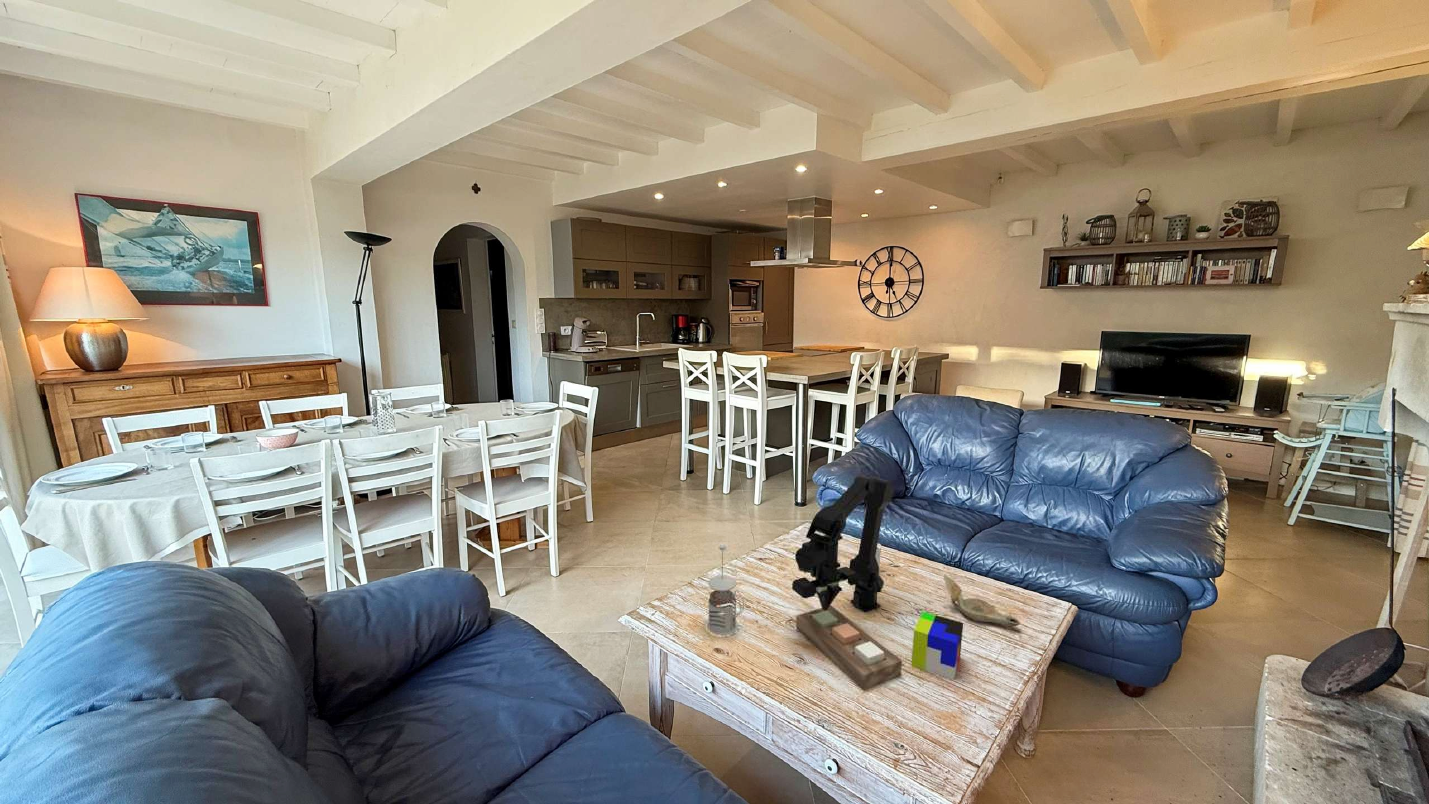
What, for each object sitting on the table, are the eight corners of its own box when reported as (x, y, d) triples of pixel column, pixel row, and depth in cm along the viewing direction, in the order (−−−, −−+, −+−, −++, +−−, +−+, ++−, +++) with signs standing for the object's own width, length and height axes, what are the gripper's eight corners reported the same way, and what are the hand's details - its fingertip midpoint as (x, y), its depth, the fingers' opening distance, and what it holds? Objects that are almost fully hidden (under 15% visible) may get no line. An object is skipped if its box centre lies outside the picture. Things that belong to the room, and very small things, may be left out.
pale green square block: (826, 620, 158) (826, 610, 157) (837, 629, 153) (837, 619, 153) (811, 624, 156) (812, 614, 155) (822, 634, 151) (822, 624, 151)
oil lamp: (946, 599, 172) (949, 569, 170) (1022, 626, 158) (1026, 593, 156) (936, 610, 166) (938, 579, 164) (1014, 639, 152) (1017, 606, 150)
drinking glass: (880, 578, 185) (882, 550, 183) (860, 576, 186) (861, 548, 184) (878, 569, 191) (880, 541, 189) (858, 567, 192) (860, 540, 191)
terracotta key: (846, 633, 150) (847, 623, 149) (859, 643, 145) (859, 632, 145) (831, 638, 148) (832, 627, 147) (844, 648, 143) (844, 638, 143)
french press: (718, 613, 164) (718, 534, 159) (751, 626, 157) (752, 544, 153) (698, 629, 156) (697, 546, 152) (732, 644, 150) (732, 558, 145)
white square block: (869, 651, 142) (870, 641, 141) (883, 663, 137) (884, 652, 137) (854, 657, 140) (854, 646, 139) (867, 669, 135) (868, 658, 135)
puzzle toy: (953, 680, 136) (956, 643, 134) (911, 665, 141) (913, 630, 139) (960, 657, 144) (963, 622, 142) (920, 645, 149) (922, 611, 147)
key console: (830, 617, 162) (830, 605, 161) (900, 675, 137) (901, 660, 136) (796, 628, 157) (796, 615, 156) (863, 690, 132) (863, 675, 131)
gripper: (835, 539, 162) (833, 589, 165) (781, 552, 154) (780, 604, 157) (861, 555, 152) (858, 607, 155) (805, 569, 144) (803, 624, 147)
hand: (824, 610), depth 154 cm, fingers closed
